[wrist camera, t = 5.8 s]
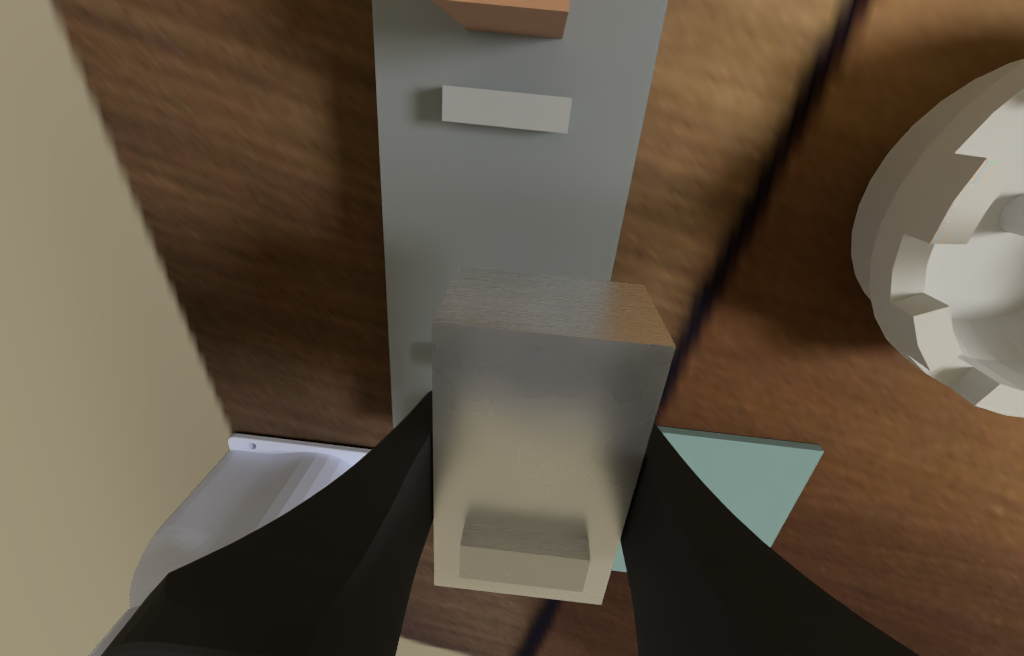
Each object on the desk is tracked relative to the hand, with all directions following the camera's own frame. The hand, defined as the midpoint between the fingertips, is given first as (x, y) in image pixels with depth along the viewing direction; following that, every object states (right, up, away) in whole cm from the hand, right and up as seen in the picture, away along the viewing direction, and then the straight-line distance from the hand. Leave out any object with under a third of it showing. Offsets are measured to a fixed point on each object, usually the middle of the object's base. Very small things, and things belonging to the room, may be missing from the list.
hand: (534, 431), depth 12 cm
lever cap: (0, +1, +1) cm, 1 cm away
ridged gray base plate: (-1, +7, +8) cm, 11 cm away
